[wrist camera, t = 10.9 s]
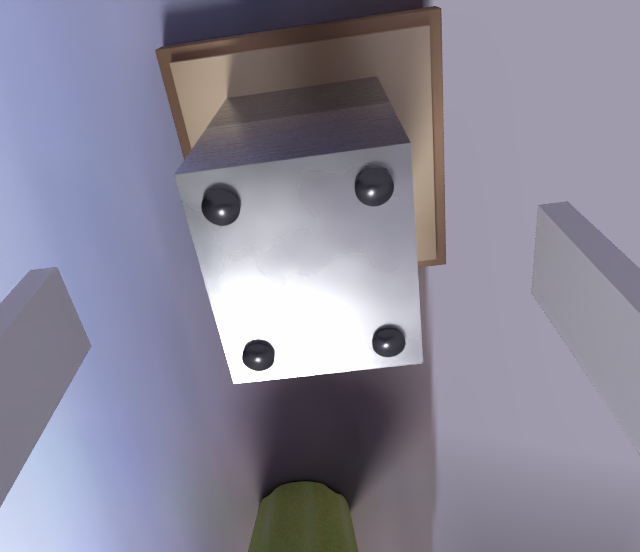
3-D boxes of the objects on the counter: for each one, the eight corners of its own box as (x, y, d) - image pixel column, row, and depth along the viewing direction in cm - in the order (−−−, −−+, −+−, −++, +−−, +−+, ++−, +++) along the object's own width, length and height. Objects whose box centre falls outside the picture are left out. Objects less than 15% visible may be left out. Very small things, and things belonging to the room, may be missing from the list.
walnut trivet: (222, 277, 27) (218, 293, 26) (163, 45, 22) (153, 51, 21) (441, 252, 27) (447, 267, 25) (435, 6, 21) (442, 9, 20)
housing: (260, 252, 25) (233, 386, 17) (226, 97, 22) (173, 176, 14) (390, 236, 25) (423, 366, 17) (377, 76, 21) (411, 144, 13)
